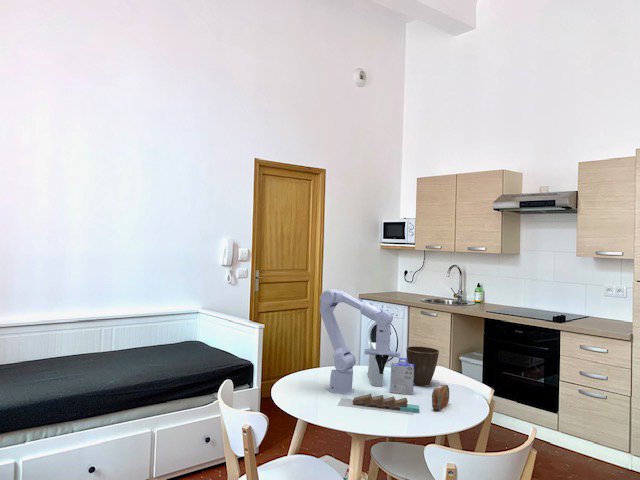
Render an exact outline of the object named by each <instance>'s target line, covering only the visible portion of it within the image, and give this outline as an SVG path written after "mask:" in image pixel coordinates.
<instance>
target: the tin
mask: <svg viewBox="0 0 640 480" xmlns="http://www.w3.org/2000/svg"><path fill="white" fill-rule="evenodd" d="M449 401H450V388H449V385H448V384H439V385H438V386H437V387H434V389H433V390H432V393H431V408H432V409H433V410H434V411H438V412H441V411H443V410H444V408H446V407H447V406H448V404H449Z"/></svg>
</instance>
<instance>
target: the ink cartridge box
mask: <svg viewBox="0 0 640 480" xmlns="http://www.w3.org/2000/svg"><path fill="white" fill-rule="evenodd" d="M402 360H403V361H402ZM389 382H390V383H389V384H390V385H389V393H392V394H403V395H409V396H410V395H413V393H414V385H415V384H414V364H408V360H407V357H406V358H405V357H400V358H398V362H391V365H390V381H389Z"/></svg>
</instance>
